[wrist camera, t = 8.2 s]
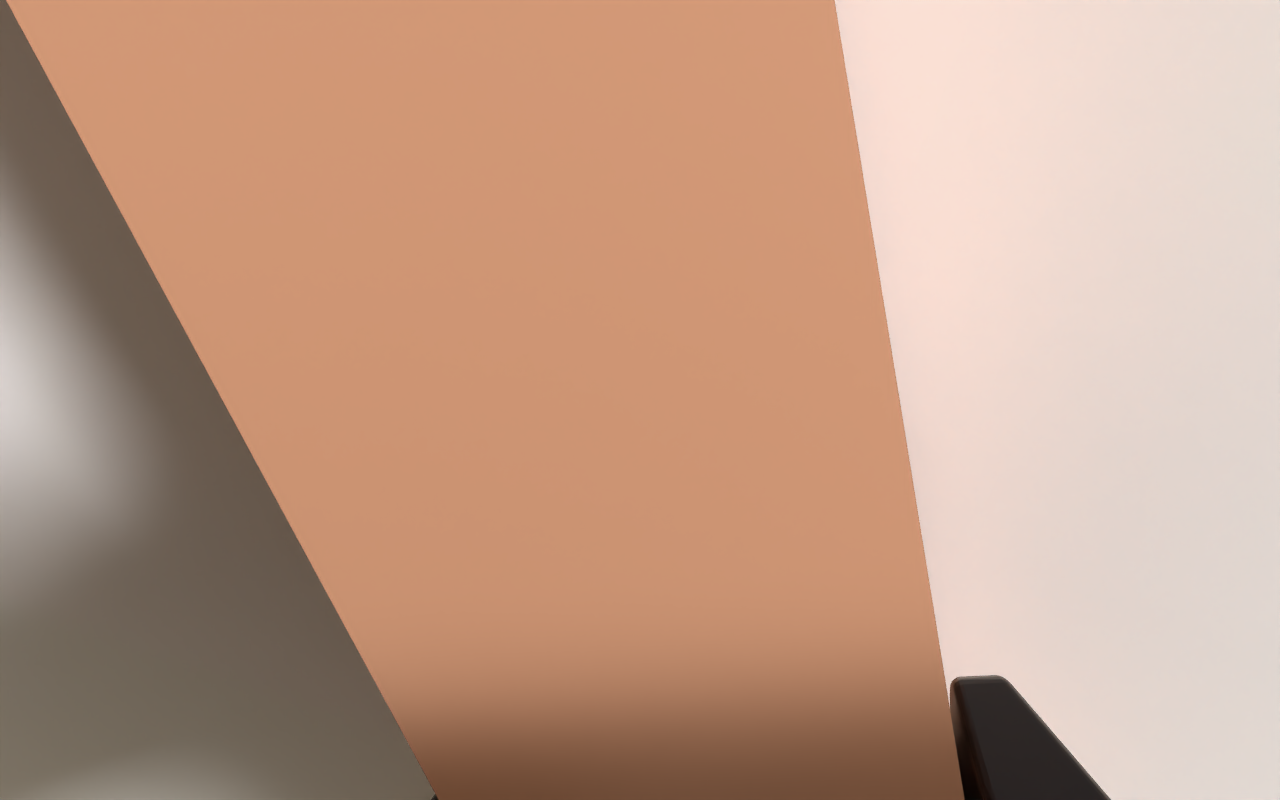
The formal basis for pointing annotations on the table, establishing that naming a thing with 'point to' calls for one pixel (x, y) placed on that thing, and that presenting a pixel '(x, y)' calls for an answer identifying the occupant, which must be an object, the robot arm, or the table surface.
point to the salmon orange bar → (550, 370)
